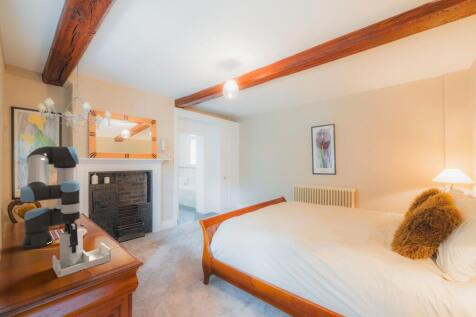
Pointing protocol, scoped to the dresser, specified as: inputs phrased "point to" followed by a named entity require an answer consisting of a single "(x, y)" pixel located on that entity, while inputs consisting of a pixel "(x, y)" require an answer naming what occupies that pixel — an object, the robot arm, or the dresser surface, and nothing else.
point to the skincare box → (66, 249)
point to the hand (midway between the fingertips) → (70, 255)
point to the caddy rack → (83, 261)
